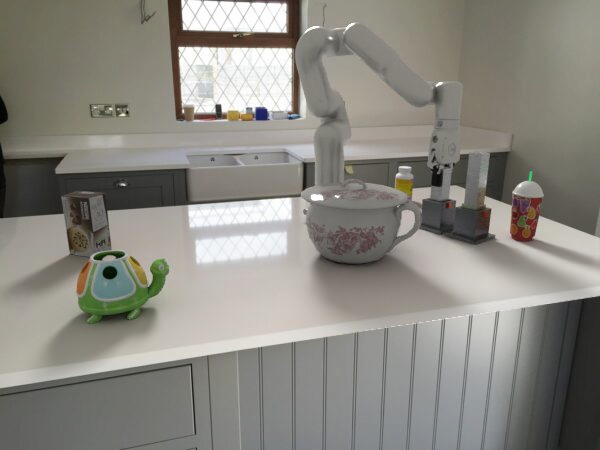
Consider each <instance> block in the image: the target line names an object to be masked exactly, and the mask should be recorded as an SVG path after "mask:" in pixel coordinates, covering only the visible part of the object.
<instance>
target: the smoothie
mask: <svg viewBox="0 0 600 450" xmlns="http://www.w3.org/2000/svg"><path fill="white" fill-rule="evenodd" d="M532 176H533V171H529V176H528V180H524V181H522V182H520V183H518V184H517V185H516V186H515V188H514V189H513V190H512V193H511V194H512V196H511V208H510V209H511V211H510V227H509V228H510V229H509V234H510V237H511V239H513V240H516V241H519V242H530V241H533V239H534V237H535V236H536V232H537V228H538V224H539V218H540V214H541V210H542V206H543V200H544V197H545V194H544V193H543V192H544V191H543V189H542V187H541V186H540V185H539V183H537V182H536V181H532V178H533V177H532Z"/></svg>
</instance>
